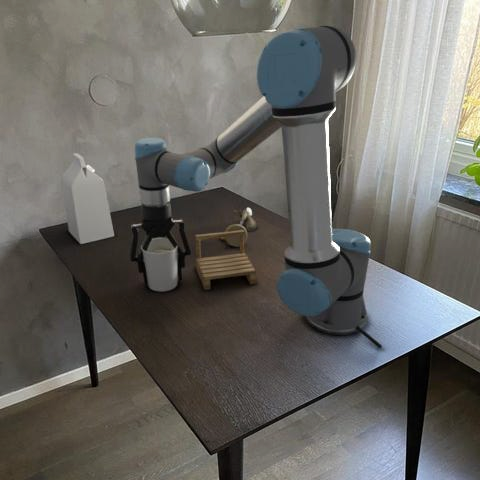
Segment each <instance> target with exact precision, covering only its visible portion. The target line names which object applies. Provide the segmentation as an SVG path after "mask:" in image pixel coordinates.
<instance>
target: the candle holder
mask: <svg viewBox="0 0 480 480" xmlns="http://www.w3.org/2000/svg"><path fill="white" fill-rule="evenodd" d="M140 248H141V250H142V252H143V257H144V258H143V260H144V263H145V267H146V275H147V287H148V288H149V290H152V291H154V292H161V293H162V292H168V291H171V290H172V291H173V290H174V289H175V288H177V287H178V284H179V277H178V255H179V254H178V245H177V246H176V248H174V247H173V245H172V244H171V242H170V241H169V239H168V238H167V237H157V238H152V240H151V242H150V244H149V246H148V249H147V251H145V250H143V249H142V244H141V245H140Z"/></svg>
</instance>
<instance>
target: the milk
mask: <svg viewBox="0 0 480 480" xmlns="http://www.w3.org/2000/svg"><path fill="white" fill-rule="evenodd" d="M95 171H96V169H94V167H92V166H91V165H90V164H87V165H86V162H85V159H84V157H83V156H82V155H81V154H79V153H77V152H74V153H72V163H70V165H69V166H68V167H67V169H66V170H65V171H64V173H63V174H62V176H61V187H62V193H63V200H64V207H65V214H66V220H67V221H66V222H67V227H68V233H70V235H71V236H72V237H73V238H74V239H75V240H76V241H77V242H78V243H79V244H80V245H83V244H87V243H93V242H96V241H101V240H104V239H109V238H113V237H115V232H114V228H113V227H114V225H113V222H112V221H113V220H112V217H111V210H110V205H109V200H108V195H107V190H106V185H105V181H104V179H103V178H102V177H100V176H99V175H98V174H96V173H95Z"/></svg>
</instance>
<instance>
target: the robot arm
mask: <svg viewBox="0 0 480 480" xmlns="http://www.w3.org/2000/svg"><path fill="white" fill-rule="evenodd" d="M356 65H357V52H356V48H355V45H354V42H353V40H352V38H351V36H349V35H348V34H347V33H346V31H344V30H342V29H341V28H340V27H336V26H333V25H320V26H316V27H315V26H314V27H303V28H293V29H291V30H286V31H284V32H283V31H282V32H281V33H278V34H276V35H275V36H273V37H272V38H271V39H270V40H269V41H268V42H267V43H266V45H265V46H264V48H263V49H262V51H261V52H260V55H259V57H258V61H257V65H256V82H257V86H258V91H259V92H260V94H261V96H262V97H261V98H260V99H259V100H257V101H256V102H255V103H254V104H253V105H252V106H251V107H249V108H248V109H247V110H246V111H245V112H243V114H242V115H240V117H238V118H237V119H236V120H235V121H234V122H233V123H232V124H230V126H228V127H227V128H226V129H225V130H224V131H222V132H221V134H219V135H218V136H217V137H216V138H215V139H214V140H212V141H211V142H210V143H209V144H207V145H204V146H202V147H199V148H196V149H193V150H191V151H188V152H184V153H176V152H171V151H168V147H167V143H166V141H165V140H164V139H163V138H160V137H143V138H141V139H138V140H137V141H136V142H135V143H134V155H135V157H134V160H135V165H136V173H137V183H138V190H139V201H140V203H141V204H140V209H141V219H142V220H141V222H140V223H137V224H136V223H131V224H130V227H131V228H130V229H131V232H132V235H131V243H130V251H129V259H130V262H132V263H134V262H136V263H137V268H138V273H139V274H142V276H143V282H144V285H148V283H147V275H146V267H145V263H144V260H143V258H144V257H143V252H142V250H141V247H140V248H139V251H138V253H137V247H138V239H139V233H141V230H142V229H143V231H144V232H145V234H144V238H143V241H142V243H141V245H142V249H143V250H145V251H147V249H148V246H149V244H150V242H151V240H152V239H154V238H168V239H169V241H170V242H171V244H172V245H173V247H174V248H176V246H177V245H178V281H183V273H182V272H183V271H182V269H184V268H185V267H186V260H185V259H186V257H187V256H190V255H192V251H191V248H190V245H189V242H188V238H187V236H186V232H185V222H184V220H183V218H179V219H174V218H173V215H172V204H171V202H170V201H171V193H170V192H171V191H170V190H171V189H170V186H171V187H175V188H177V189H181V190H183V191H187V192H189V191H190V192H201V191H203V190H204V188H205V187H206V186H207V185H208V184H209V181H210V180H211V179H212V178H215V177H218V176H220V175H223V174H226V173H229V172H230V171H232V170H233V169H235V168H236V167H238V165H239V163H240V160H242V159H243V158H244V157H246V156H247V155H248V154H250V153H251V151H253V150H254V149H256V148H257V147H258V146H259V145H261V144H262V143H263V142H265V141H266V140H267V139H269V138H270V137H271V136H272V135H274V133H276V132H277V131H278V130H280V129H281V139H282V149H283V150H282V151H283V162H284V175H285V186H286V200H287V211H288V225H289V237H290V238H289V239H290V244H289V246H287V248H286V249H285V250H284V267H285V270H282V272H281V273H280V274H279V277H278V279H277V282H276V290H277V294H278V297H279V298H280V300H281V301H282V304H284V305H285V306H286V307H288V309H289V310H290V311H292V312H293V313H294V314H296V315H300V316H302V317H305V321H306V322H307V324H308V325H309V326H310V327H311V328H313V329H315V330H316V331H319V332H321V333H324V334H327V335H333V336H348V335H352V334H356V333H360V334H361V335H362V336H364V337H365V338H366V339H368V340H369V341H370V342H371V343H372V344H374V345H375V346H376V347H377V348H378V349H381V348H382V347H383V345H382V344H381V343H380V342H379V341H377V340H376V339H375V338H374V337H373V336H372V335H370V334H369V333H368V332H366V331H365V330H364V328H365V326H366V325H367V320H368V313H367V307H366V301H365V296H364V290H365V284H366V279H367V273H368V268H369V267H368V266H369V262H370V261H369V260H370V256H371V253H372V252H371V246H372V245H371V240H370V238H369V237H368V236H366V235H365V234H363V233H361V232H359V231H355V230H351V229H347V228H333V227H332V225H333V224H332V200H331V174H330V173H331V172H330V146H329V144H330V142H329V141H330V140H329V119H330V117H331V116H332V115H333V114H334V112H335V111H336V109H337V106H336V103H337V101H336V92H338V91H340V90H341V89H343V88H344V87H345V86H346V85H347V84H348V83H349V81H350V80H351V79H352V76H353V75H354V73H355V69H356ZM174 226H175V228H176V229H177V230H178V232H179V235H180V238H181V241H182V244H183V247H184V249H182V248H181V246H180V245H179V243H178V241H177V239H176V238H175V237H174V235H173V233H172V231H171V230H172V229H173V227H174Z"/></svg>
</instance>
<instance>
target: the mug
mask: <svg viewBox="0 0 480 480" xmlns="http://www.w3.org/2000/svg"><path fill="white" fill-rule="evenodd" d="M239 230H244V232H245V235H244V244H245V243H246V241H247V239H248V230H246V227H244V226H243V224H242V225H240V223H239V224H238V223H234V224H231V225H229V226H227V228H226V230H225V232H229V231H239ZM220 240H221V241H225V242H226V243H227V244H228V245H229V246H231V247H235V248H238V247H240V236H234V237H224V238H220Z"/></svg>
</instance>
